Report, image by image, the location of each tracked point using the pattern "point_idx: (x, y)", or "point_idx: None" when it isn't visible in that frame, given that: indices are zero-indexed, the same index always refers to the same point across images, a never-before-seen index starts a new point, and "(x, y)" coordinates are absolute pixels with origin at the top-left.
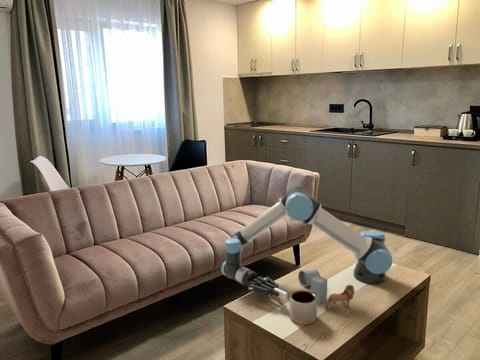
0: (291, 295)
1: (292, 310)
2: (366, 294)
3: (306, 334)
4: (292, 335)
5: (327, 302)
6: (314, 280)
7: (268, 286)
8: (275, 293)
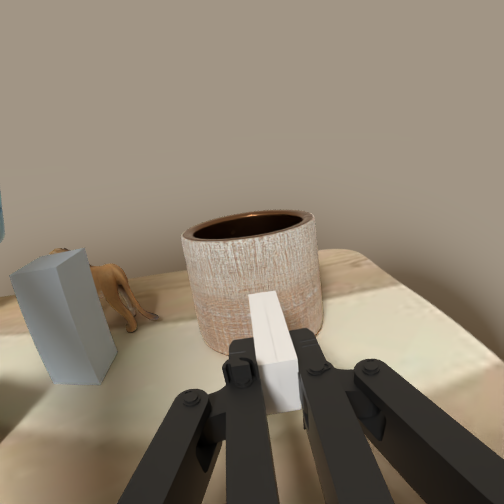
0: (289, 227)
1: (319, 270)
2: (15, 319)
3: (324, 281)
4: (369, 285)
5: (134, 297)
6: (67, 259)
7: (314, 420)
8: (316, 342)
